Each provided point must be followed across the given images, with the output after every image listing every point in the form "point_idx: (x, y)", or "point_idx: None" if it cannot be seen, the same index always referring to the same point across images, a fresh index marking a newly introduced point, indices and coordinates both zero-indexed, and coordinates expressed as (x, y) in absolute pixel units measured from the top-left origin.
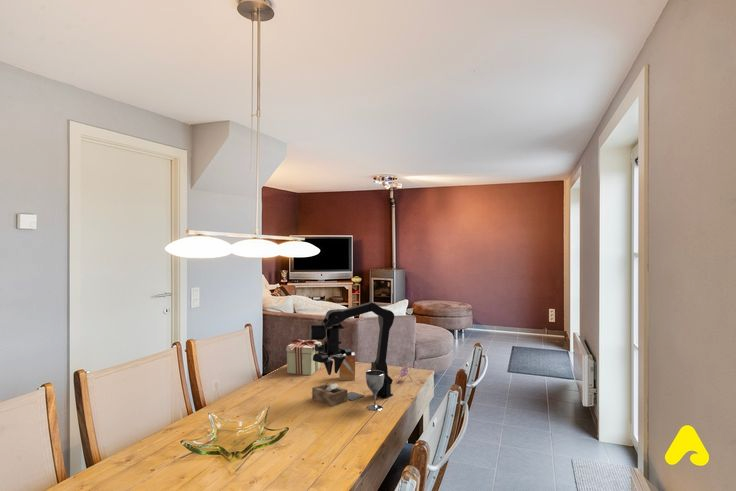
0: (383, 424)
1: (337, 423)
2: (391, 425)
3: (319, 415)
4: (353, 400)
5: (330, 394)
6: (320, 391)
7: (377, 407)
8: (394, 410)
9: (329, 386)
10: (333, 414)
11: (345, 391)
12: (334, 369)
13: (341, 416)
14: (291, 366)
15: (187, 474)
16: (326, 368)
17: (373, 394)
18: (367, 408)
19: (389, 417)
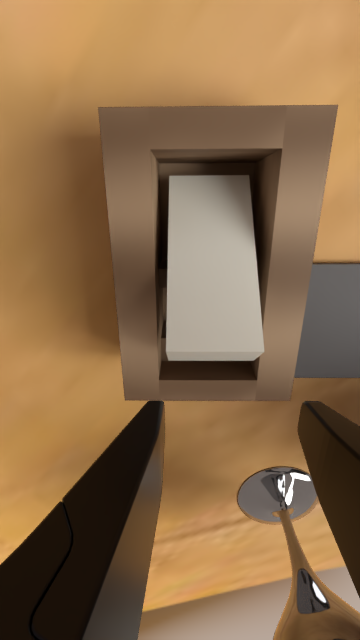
0: (164, 586)
1: (31, 494)
2: (178, 602)
3: (7, 390)
4: (296, 375)
5: (123, 378)
6: (112, 255)
7: (276, 516)
8: (305, 553)
9: (166, 338)
10: (74, 426)
11: (265, 396)
12: (331, 435)
13: (91, 463)
14: None
15: None
16: (76, 497)
17: (292, 574)
18: (246, 485)
19: (230, 572)
